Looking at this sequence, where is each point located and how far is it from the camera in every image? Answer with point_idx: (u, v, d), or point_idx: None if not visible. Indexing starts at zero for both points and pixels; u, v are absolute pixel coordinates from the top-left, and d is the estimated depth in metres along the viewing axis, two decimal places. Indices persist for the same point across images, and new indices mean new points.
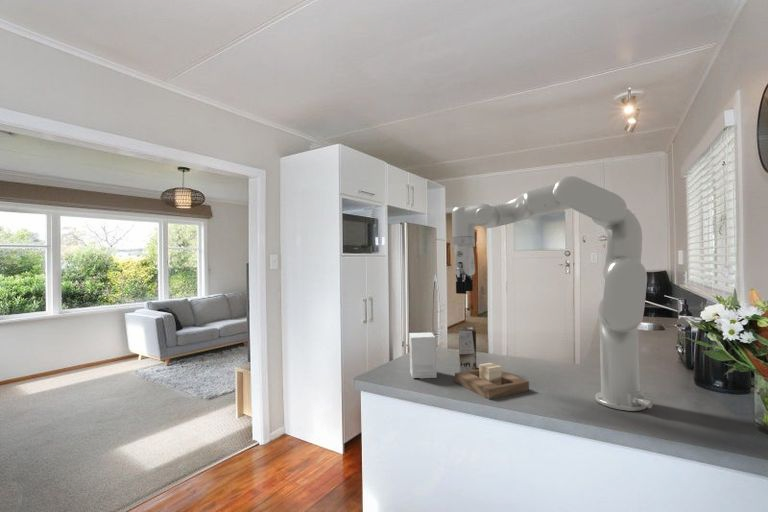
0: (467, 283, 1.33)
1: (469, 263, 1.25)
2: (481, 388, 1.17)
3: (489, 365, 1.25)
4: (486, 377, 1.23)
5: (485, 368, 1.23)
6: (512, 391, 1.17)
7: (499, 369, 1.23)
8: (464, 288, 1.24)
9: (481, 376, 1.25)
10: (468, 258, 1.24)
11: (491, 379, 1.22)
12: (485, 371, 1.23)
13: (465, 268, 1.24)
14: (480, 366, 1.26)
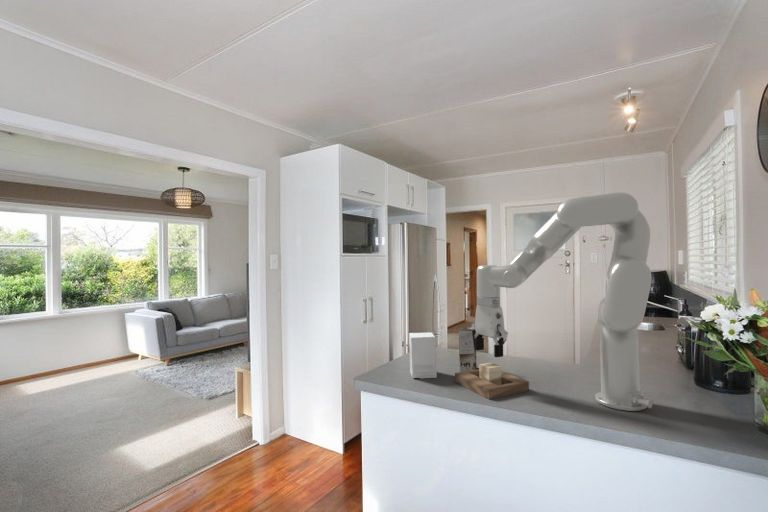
0: (480, 342, 1.29)
1: None
2: (481, 388, 1.17)
3: (489, 364, 1.25)
4: (486, 377, 1.23)
5: (485, 368, 1.23)
6: (512, 391, 1.17)
7: (499, 369, 1.23)
8: None
9: (481, 376, 1.25)
10: None
11: (491, 379, 1.22)
12: (485, 371, 1.23)
13: None
14: (480, 366, 1.26)
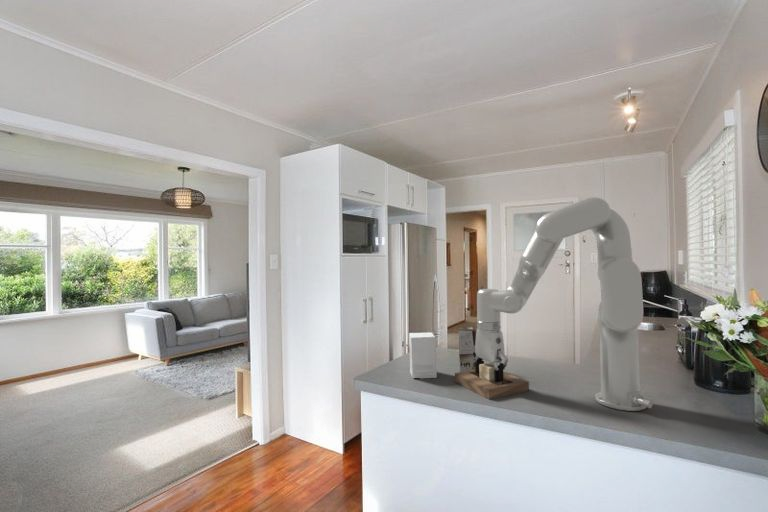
0: None
1: None
2: (481, 388, 1.17)
3: (489, 365, 1.25)
4: (486, 377, 1.23)
5: (485, 368, 1.23)
6: (512, 391, 1.17)
7: None
8: None
9: (481, 376, 1.25)
10: None
11: (491, 379, 1.22)
12: (485, 371, 1.23)
13: None
14: (480, 366, 1.26)
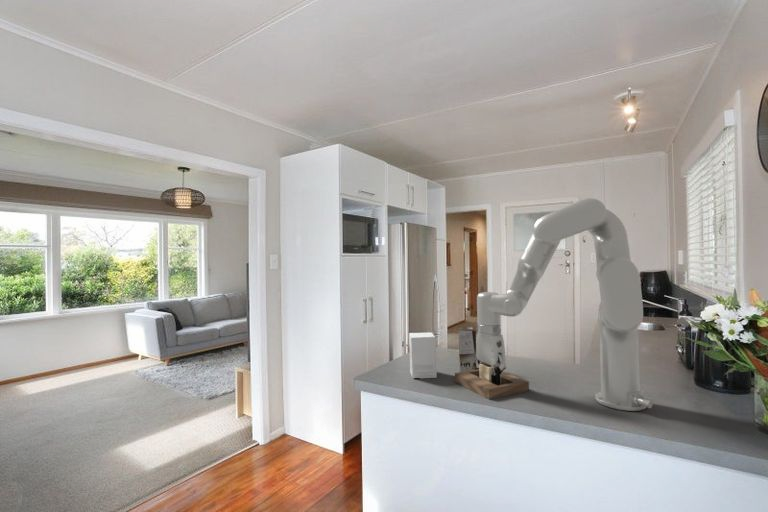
0: None
1: None
2: (481, 388, 1.17)
3: None
4: (486, 377, 1.23)
5: (485, 368, 1.23)
6: (512, 391, 1.17)
7: None
8: (499, 380, 1.23)
9: (481, 376, 1.25)
10: None
11: None
12: (485, 371, 1.23)
13: (504, 358, 1.21)
14: (480, 366, 1.26)
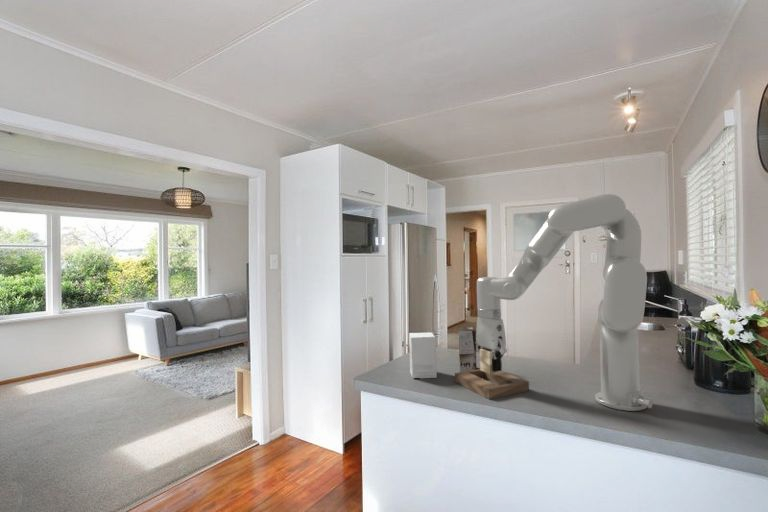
0: None
1: None
2: (481, 388, 1.17)
3: (490, 349, 1.25)
4: (487, 361, 1.23)
5: (485, 352, 1.23)
6: (512, 391, 1.17)
7: None
8: None
9: (482, 361, 1.25)
10: None
11: None
12: (486, 356, 1.23)
13: (504, 342, 1.21)
14: (480, 351, 1.26)
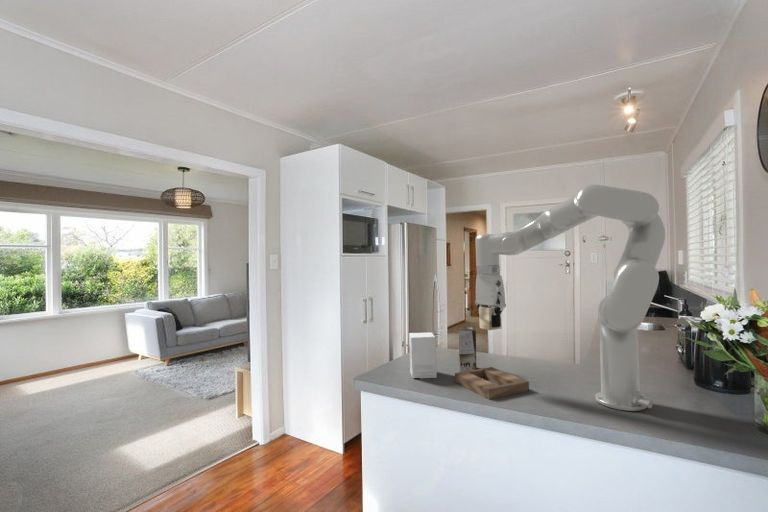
0: None
1: None
2: (481, 388, 1.17)
3: (489, 307, 1.25)
4: (486, 318, 1.23)
5: (485, 309, 1.23)
6: (512, 391, 1.17)
7: None
8: (499, 321, 1.22)
9: (481, 318, 1.25)
10: None
11: (491, 319, 1.22)
12: (485, 313, 1.23)
13: (503, 298, 1.21)
14: (480, 308, 1.26)
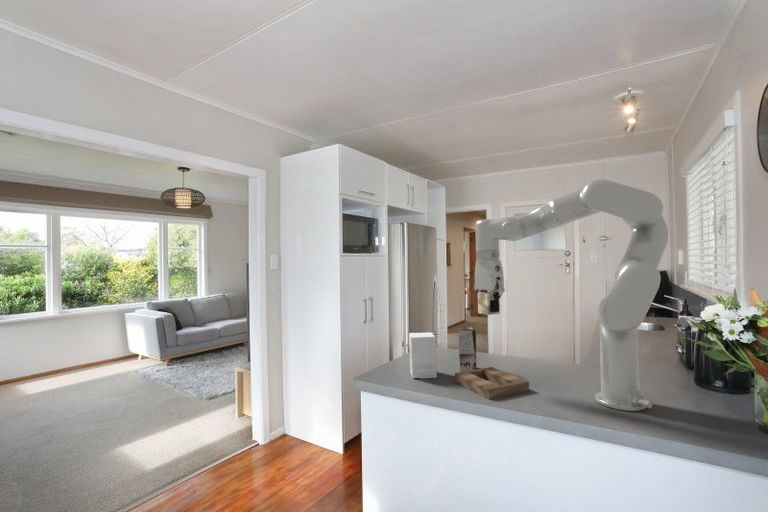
0: None
1: None
2: (481, 388, 1.17)
3: (488, 292, 1.26)
4: (485, 303, 1.23)
5: (483, 294, 1.23)
6: (512, 391, 1.17)
7: None
8: (498, 306, 1.23)
9: (479, 303, 1.25)
10: None
11: None
12: (484, 297, 1.23)
13: (502, 283, 1.21)
14: (478, 293, 1.26)
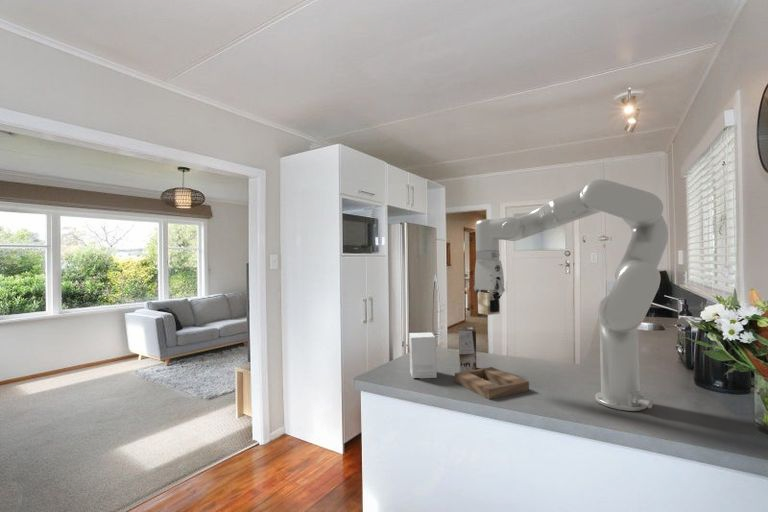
0: None
1: None
2: (481, 388, 1.17)
3: (488, 292, 1.26)
4: (485, 303, 1.23)
5: (483, 294, 1.23)
6: (512, 391, 1.17)
7: None
8: (498, 306, 1.23)
9: (479, 303, 1.25)
10: None
11: None
12: (484, 297, 1.23)
13: (502, 283, 1.21)
14: (478, 293, 1.26)
